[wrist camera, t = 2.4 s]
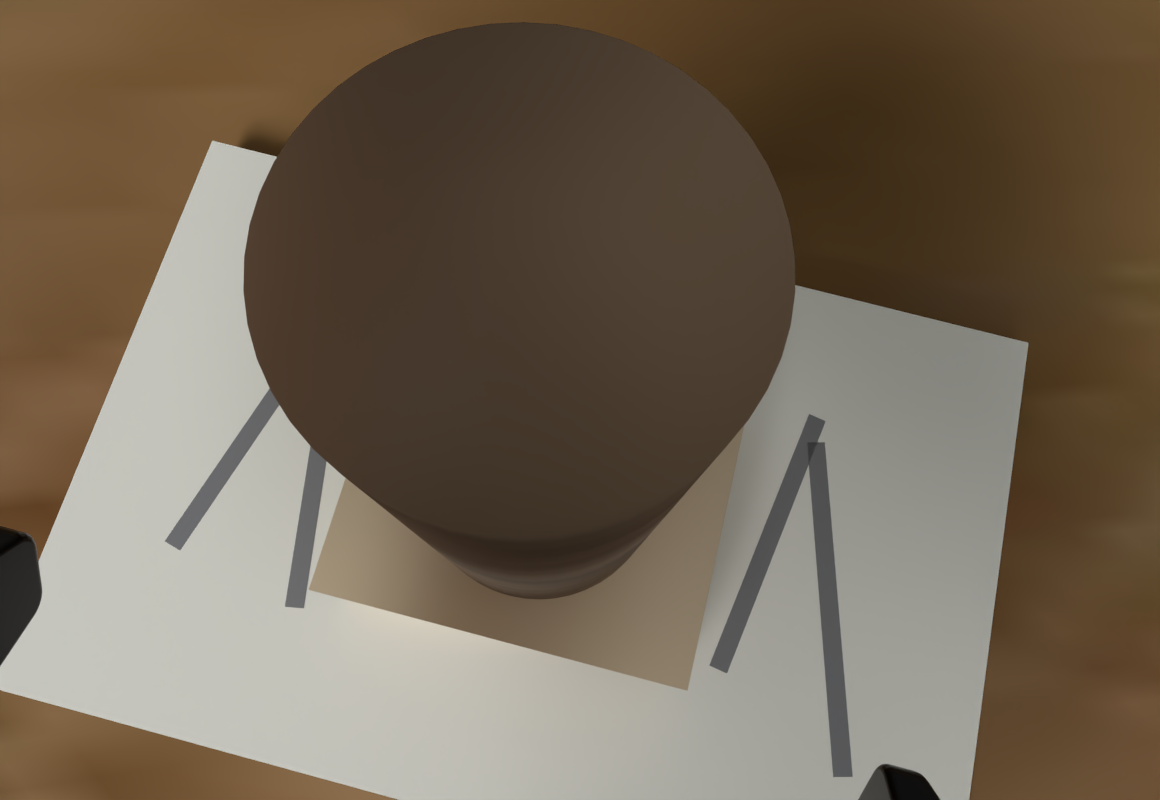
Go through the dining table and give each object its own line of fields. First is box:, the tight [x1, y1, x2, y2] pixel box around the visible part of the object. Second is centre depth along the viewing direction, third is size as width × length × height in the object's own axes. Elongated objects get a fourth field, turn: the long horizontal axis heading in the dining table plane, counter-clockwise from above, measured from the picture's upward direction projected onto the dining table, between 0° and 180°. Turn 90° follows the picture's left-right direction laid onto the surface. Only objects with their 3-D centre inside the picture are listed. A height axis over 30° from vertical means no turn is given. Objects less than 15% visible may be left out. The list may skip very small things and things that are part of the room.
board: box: [0, 141, 1028, 800], centre depth 20 cm, size 20×13×1 cm, turn 76°
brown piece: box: [243, 22, 795, 691], centre depth 13 cm, size 7×6×13 cm
